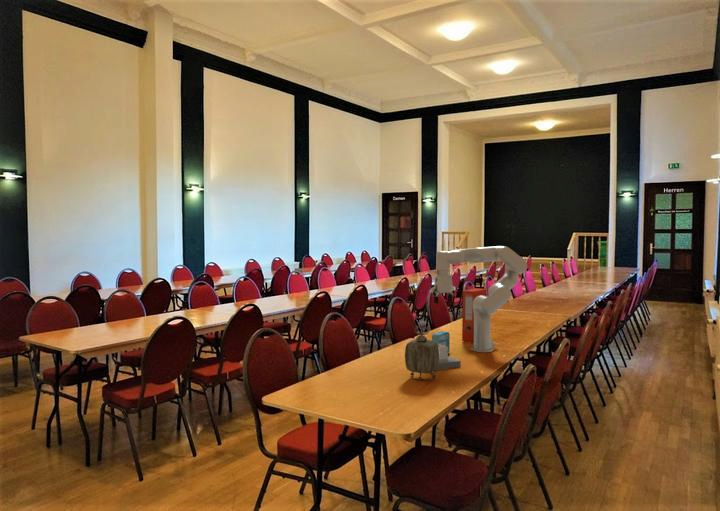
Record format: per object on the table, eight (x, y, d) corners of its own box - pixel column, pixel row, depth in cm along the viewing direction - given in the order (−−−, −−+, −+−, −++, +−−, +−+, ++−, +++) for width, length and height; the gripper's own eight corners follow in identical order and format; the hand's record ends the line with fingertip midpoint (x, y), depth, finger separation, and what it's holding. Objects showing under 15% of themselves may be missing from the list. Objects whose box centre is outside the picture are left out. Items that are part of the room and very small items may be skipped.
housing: (447, 360, 268) (447, 344, 268) (439, 361, 266) (439, 345, 265) (437, 356, 276) (437, 341, 276) (429, 357, 274) (429, 342, 273)
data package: (438, 356, 289) (438, 335, 288) (431, 355, 292) (431, 334, 291) (449, 352, 298) (449, 331, 298) (442, 351, 301) (442, 330, 301)
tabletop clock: (438, 377, 247) (438, 325, 246) (433, 383, 239) (433, 328, 238) (409, 374, 253) (409, 323, 252) (403, 379, 245) (403, 326, 244)
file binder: (486, 338, 334) (486, 288, 333) (474, 343, 321) (474, 291, 319) (474, 337, 339) (474, 288, 338) (462, 341, 326) (462, 290, 324)
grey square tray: (441, 359, 282) (441, 354, 282) (460, 366, 268) (460, 360, 267) (416, 363, 274) (416, 357, 274) (435, 370, 260) (435, 364, 260)
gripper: (434, 274, 290) (434, 304, 291) (459, 272, 298) (459, 302, 299) (426, 273, 297) (426, 303, 297) (451, 271, 305) (451, 300, 306)
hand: (443, 302), depth 298 cm, fingers open, 9 cm apart
